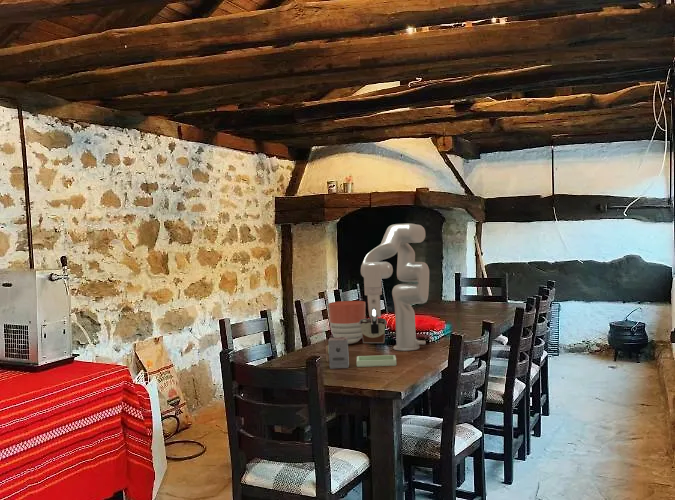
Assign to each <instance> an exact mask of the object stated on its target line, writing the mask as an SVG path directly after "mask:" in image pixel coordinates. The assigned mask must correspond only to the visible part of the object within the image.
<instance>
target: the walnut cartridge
mask: <svg viewBox="0 0 675 500" xmlns="http://www.w3.org/2000/svg"><path fill="white" fill-rule="evenodd" d="M325 357H326V359H325V361H327V362H326V363H329V353H328V344H327V345H325Z"/></svg>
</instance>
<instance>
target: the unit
mask: <svg viewBox="0 0 675 500" xmlns="http://www.w3.org/2000/svg"><path fill="white" fill-rule="evenodd" d="M327 345H328V353H329V362H328V363H329V369H330V370H331V369H335V370H336V369H349V366H350V360H349V359H350V357H349V356H350V355H349V344H348V337H334V336H333V337H329V339H328V343H327Z"/></svg>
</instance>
